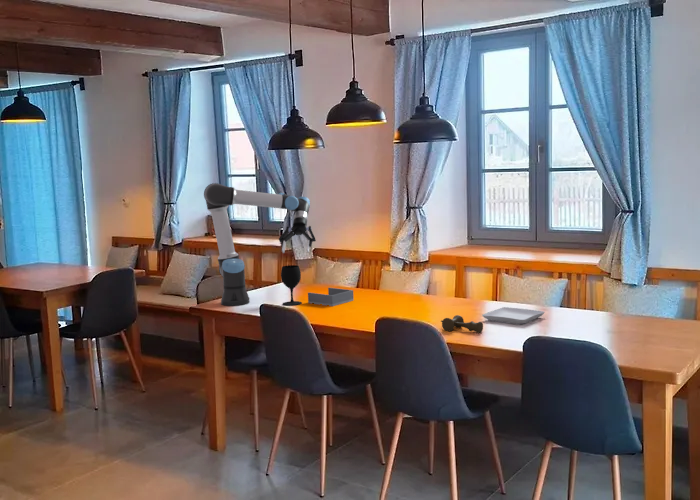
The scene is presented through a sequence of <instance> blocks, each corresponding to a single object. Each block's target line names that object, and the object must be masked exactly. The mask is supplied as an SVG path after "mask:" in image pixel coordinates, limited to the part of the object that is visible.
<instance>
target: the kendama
mask: <svg viewBox="0 0 700 500" xmlns="http://www.w3.org/2000/svg"><path fill="white" fill-rule="evenodd" d="M440 322H441V327H442V329H443V331H445V332H449V333H450V332H452V331H454V329H455V328H459V329H460V328H464V329H467V330H468V331H469V332H475V333H476V334H480V333H481V334H482V332H483V330H484V324H483V322H482V321H478V322H474V321H473V320H471V321H469V322H465V321H464V317H463V316H461V315H460V314H459V315H458V314H457V315H454V316H453V317H452V318H449V317H445V318H444V319H441V320H440Z"/></svg>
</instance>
